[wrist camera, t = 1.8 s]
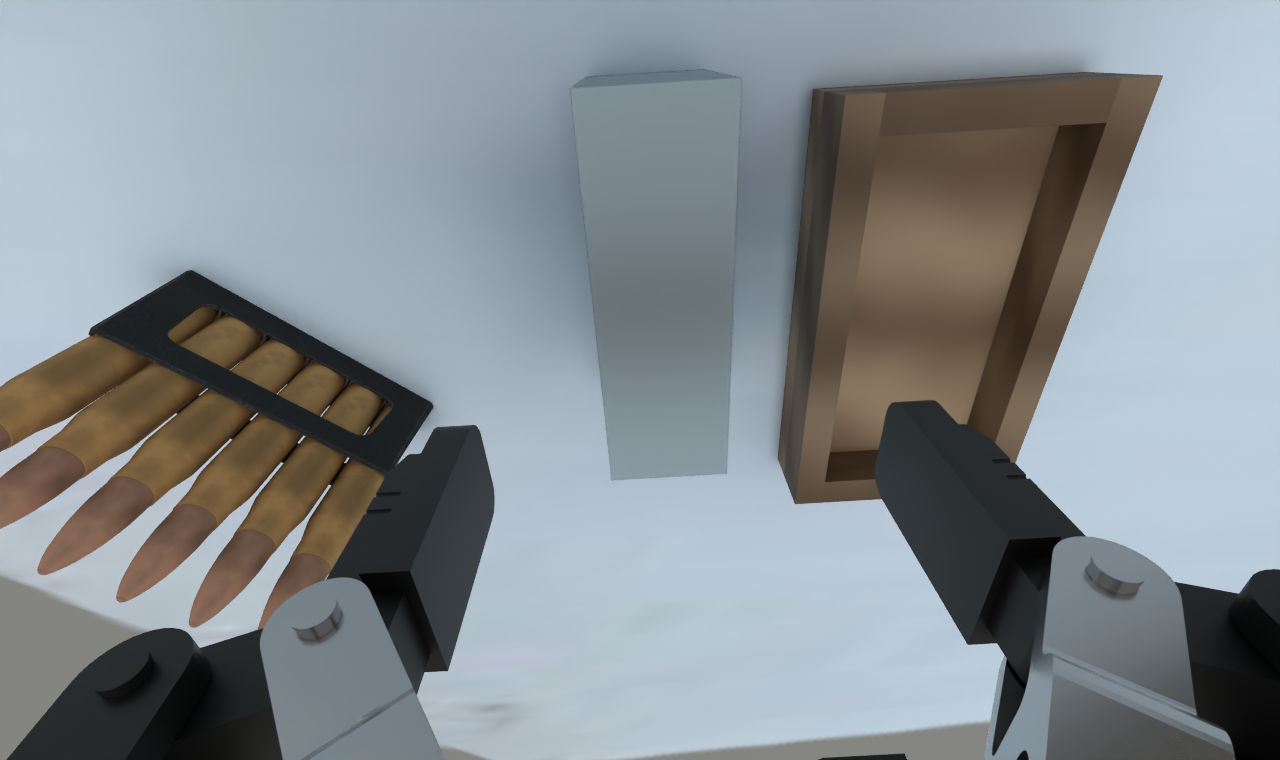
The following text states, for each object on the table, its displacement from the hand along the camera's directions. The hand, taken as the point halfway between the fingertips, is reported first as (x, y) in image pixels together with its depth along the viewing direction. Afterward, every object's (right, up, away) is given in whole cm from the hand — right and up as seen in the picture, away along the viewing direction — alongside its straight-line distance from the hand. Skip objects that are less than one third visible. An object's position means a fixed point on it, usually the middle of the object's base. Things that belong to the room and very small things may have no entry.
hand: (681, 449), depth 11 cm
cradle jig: (+10, +5, +12) cm, 17 cm away
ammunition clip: (-15, +3, +13) cm, 20 cm away
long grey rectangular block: (0, +7, +11) cm, 13 cm away
